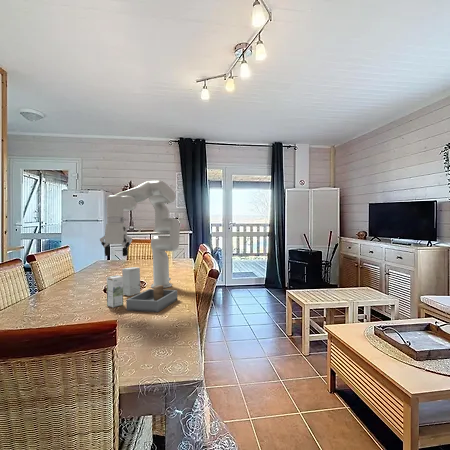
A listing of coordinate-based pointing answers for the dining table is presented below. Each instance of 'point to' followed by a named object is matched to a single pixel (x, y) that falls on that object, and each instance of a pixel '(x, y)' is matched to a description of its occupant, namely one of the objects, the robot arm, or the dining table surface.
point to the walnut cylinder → (158, 292)
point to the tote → (150, 301)
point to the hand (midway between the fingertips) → (116, 255)
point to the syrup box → (115, 291)
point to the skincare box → (131, 281)
